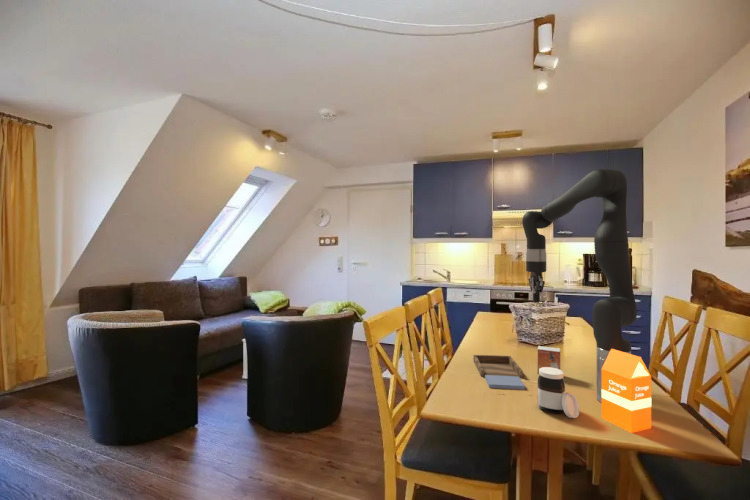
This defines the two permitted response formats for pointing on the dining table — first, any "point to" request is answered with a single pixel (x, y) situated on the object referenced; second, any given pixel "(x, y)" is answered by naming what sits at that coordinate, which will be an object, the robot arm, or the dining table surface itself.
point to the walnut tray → (497, 365)
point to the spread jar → (555, 393)
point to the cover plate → (504, 382)
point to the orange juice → (626, 391)
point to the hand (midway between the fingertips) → (536, 302)
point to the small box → (548, 357)
